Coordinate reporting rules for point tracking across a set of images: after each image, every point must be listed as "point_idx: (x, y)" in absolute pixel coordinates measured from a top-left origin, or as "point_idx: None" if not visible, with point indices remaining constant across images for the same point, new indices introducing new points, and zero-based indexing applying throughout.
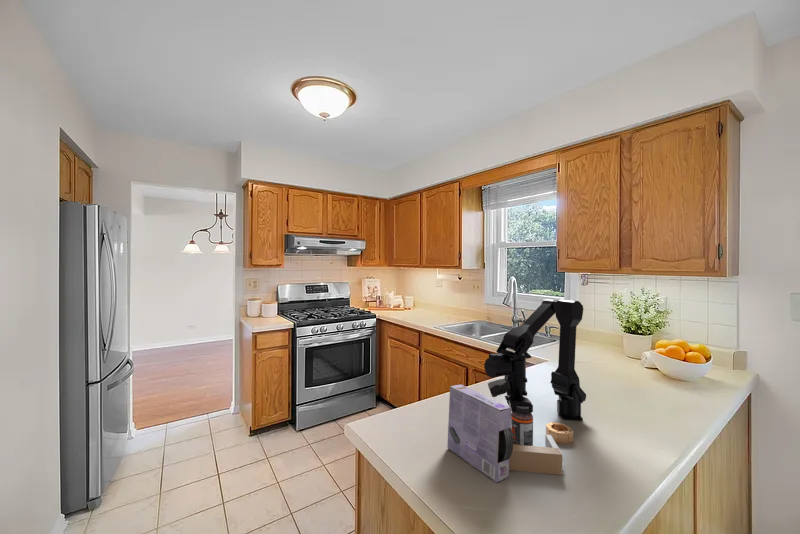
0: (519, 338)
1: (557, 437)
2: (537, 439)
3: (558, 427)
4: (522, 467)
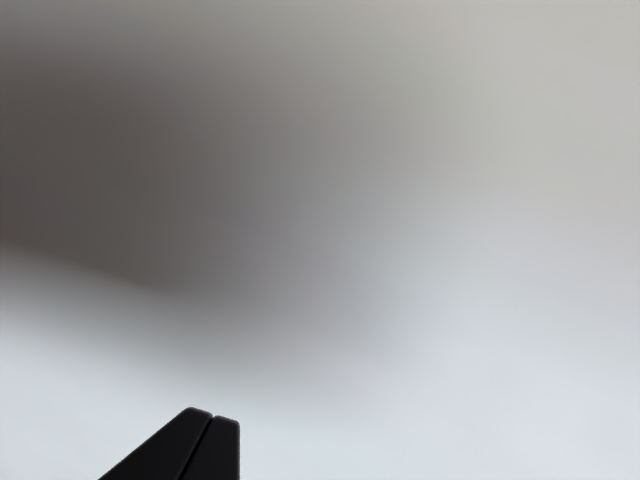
0: None
1: None
2: (22, 435)
3: None
4: None
